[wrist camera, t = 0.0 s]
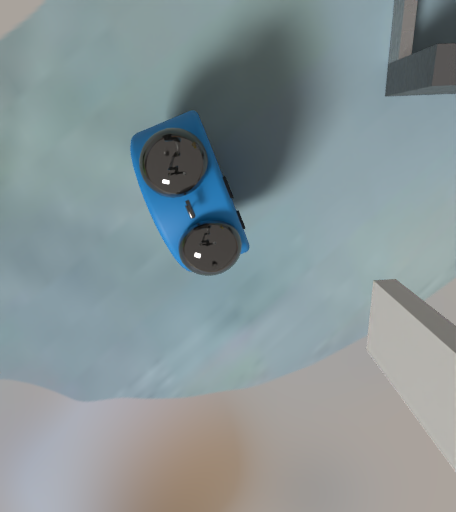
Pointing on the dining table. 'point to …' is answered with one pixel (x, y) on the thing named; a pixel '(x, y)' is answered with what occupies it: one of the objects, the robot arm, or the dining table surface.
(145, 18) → the dining table surface
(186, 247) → the alarm clock
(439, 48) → the bench
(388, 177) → the dining table surface
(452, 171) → the dining table surface
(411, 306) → the robot arm
